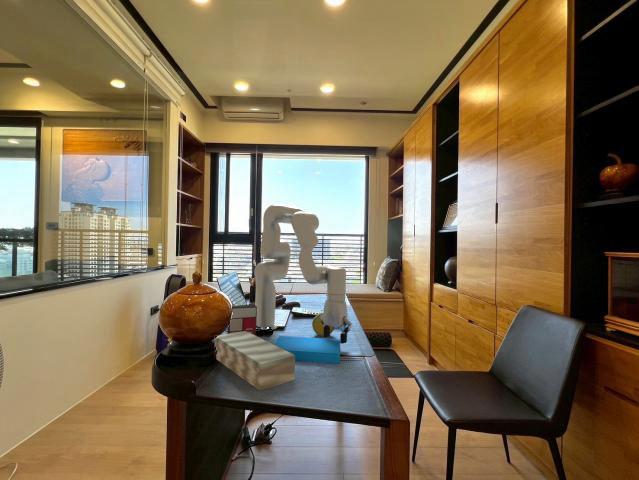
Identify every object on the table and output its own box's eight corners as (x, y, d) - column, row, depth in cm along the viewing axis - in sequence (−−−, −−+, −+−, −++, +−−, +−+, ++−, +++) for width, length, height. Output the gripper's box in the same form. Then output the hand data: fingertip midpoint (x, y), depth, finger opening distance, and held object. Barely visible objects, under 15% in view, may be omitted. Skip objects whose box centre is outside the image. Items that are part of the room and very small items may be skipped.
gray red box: (228, 346, 124) (229, 308, 124) (226, 342, 128) (228, 305, 128) (256, 343, 129) (257, 306, 129) (253, 340, 133) (255, 304, 133)
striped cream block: (214, 357, 112) (214, 336, 112) (244, 350, 120) (245, 330, 120) (259, 390, 89) (260, 364, 89) (294, 379, 97) (295, 355, 97)
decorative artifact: (312, 336, 141) (313, 313, 141) (311, 331, 148) (311, 310, 148) (334, 336, 142) (335, 314, 142) (332, 332, 149) (333, 310, 149)
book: (278, 335, 129) (340, 338, 128) (278, 346, 129) (340, 349, 128) (269, 350, 112) (340, 353, 110) (269, 362, 112) (340, 365, 110)
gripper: (315, 295, 133) (313, 336, 133) (345, 302, 120) (343, 347, 120) (328, 294, 138) (327, 333, 138) (358, 300, 125) (357, 343, 125)
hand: (334, 339), depth 129 cm, fingers open, 9 cm apart
